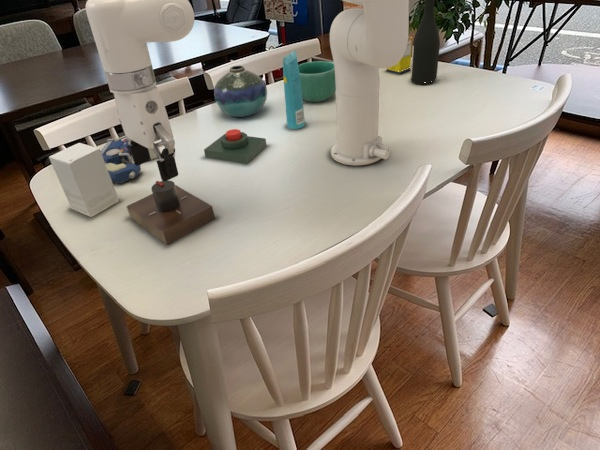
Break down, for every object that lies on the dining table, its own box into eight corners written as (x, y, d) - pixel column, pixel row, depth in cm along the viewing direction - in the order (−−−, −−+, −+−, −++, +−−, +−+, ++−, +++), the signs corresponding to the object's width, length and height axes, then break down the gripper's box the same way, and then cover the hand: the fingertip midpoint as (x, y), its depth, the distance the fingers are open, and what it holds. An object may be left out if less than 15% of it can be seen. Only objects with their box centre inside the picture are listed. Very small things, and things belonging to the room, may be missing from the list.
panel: (215, 218, 90) (212, 205, 88) (167, 245, 84) (163, 231, 82) (176, 195, 98) (173, 182, 97) (130, 218, 92) (126, 205, 91)
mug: (319, 108, 133) (317, 76, 128) (288, 100, 140) (285, 70, 135) (352, 91, 143) (352, 60, 138) (321, 85, 150) (320, 55, 145)
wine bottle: (405, 82, 146) (411, -23, 129) (421, 75, 150) (429, -27, 133) (424, 87, 141) (434, -21, 124) (441, 81, 145) (452, -26, 127)
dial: (184, 204, 89) (178, 183, 86) (164, 214, 87) (158, 193, 84) (172, 197, 92) (166, 176, 89) (153, 206, 90) (146, 185, 87)
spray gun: (168, 143, 121) (113, 148, 122) (163, 128, 118) (107, 133, 119) (146, 185, 104) (82, 189, 105) (140, 169, 101) (75, 174, 102)
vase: (212, 110, 139) (203, 66, 131) (259, 99, 143) (254, 56, 136) (225, 127, 127) (217, 80, 119) (276, 115, 131) (271, 69, 124)
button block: (266, 146, 115) (264, 131, 113) (247, 164, 108) (244, 149, 106) (226, 140, 120) (224, 126, 117) (205, 157, 112) (202, 142, 110)
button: (244, 136, 112) (243, 129, 111) (236, 142, 110) (235, 135, 109) (231, 134, 114) (230, 128, 113) (224, 140, 111) (222, 134, 110)
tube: (292, 120, 128) (285, 49, 117) (308, 121, 126) (303, 49, 115) (283, 131, 122) (275, 58, 111) (300, 132, 121) (294, 58, 109)
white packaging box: (120, 201, 98) (101, 148, 91) (90, 218, 93) (68, 163, 86) (99, 193, 102) (79, 141, 95) (70, 209, 97) (46, 156, 90)
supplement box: (397, 67, 160) (398, 34, 153) (410, 70, 156) (412, 36, 149) (385, 71, 157) (386, 38, 150) (399, 74, 153) (401, 40, 146)
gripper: (179, 81, 72) (199, 176, 82) (126, 64, 82) (150, 150, 92) (136, 95, 68) (163, 193, 77) (86, 75, 78) (116, 164, 88)
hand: (156, 170), depth 85 cm, fingers open, 9 cm apart
